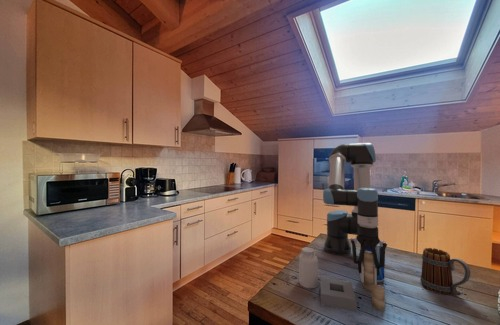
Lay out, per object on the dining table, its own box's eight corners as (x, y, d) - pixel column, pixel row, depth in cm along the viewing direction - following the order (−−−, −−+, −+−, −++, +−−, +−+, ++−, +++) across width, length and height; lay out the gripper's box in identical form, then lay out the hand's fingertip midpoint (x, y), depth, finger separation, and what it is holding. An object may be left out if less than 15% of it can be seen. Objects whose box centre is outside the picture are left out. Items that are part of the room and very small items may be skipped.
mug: (414, 283, 91) (414, 248, 91) (429, 278, 95) (429, 245, 95) (462, 306, 76) (461, 264, 76) (477, 298, 80) (476, 259, 80)
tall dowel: (362, 285, 89) (361, 250, 90) (372, 287, 88) (372, 251, 88) (364, 291, 86) (363, 254, 86) (375, 292, 84) (374, 255, 85)
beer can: (387, 284, 90) (387, 247, 90) (366, 282, 92) (366, 245, 92) (379, 274, 98) (379, 240, 99) (360, 272, 100) (360, 239, 100)
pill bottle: (303, 290, 87) (303, 253, 87) (296, 279, 95) (296, 246, 95) (321, 288, 88) (321, 252, 88) (312, 277, 96) (312, 245, 96)
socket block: (320, 286, 89) (320, 277, 89) (351, 291, 85) (351, 281, 85) (320, 304, 78) (320, 293, 78) (356, 311, 74) (356, 300, 74)
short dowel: (370, 302, 79) (370, 283, 79) (383, 304, 77) (382, 285, 78) (373, 309, 75) (373, 289, 75) (386, 311, 74) (386, 291, 74)
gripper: (346, 226, 86) (347, 283, 86) (394, 230, 81) (395, 290, 81) (344, 221, 93) (345, 273, 93) (388, 224, 88) (389, 280, 88)
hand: (368, 281), depth 87 cm, fingers closed on tall dowel, 4 cm apart
